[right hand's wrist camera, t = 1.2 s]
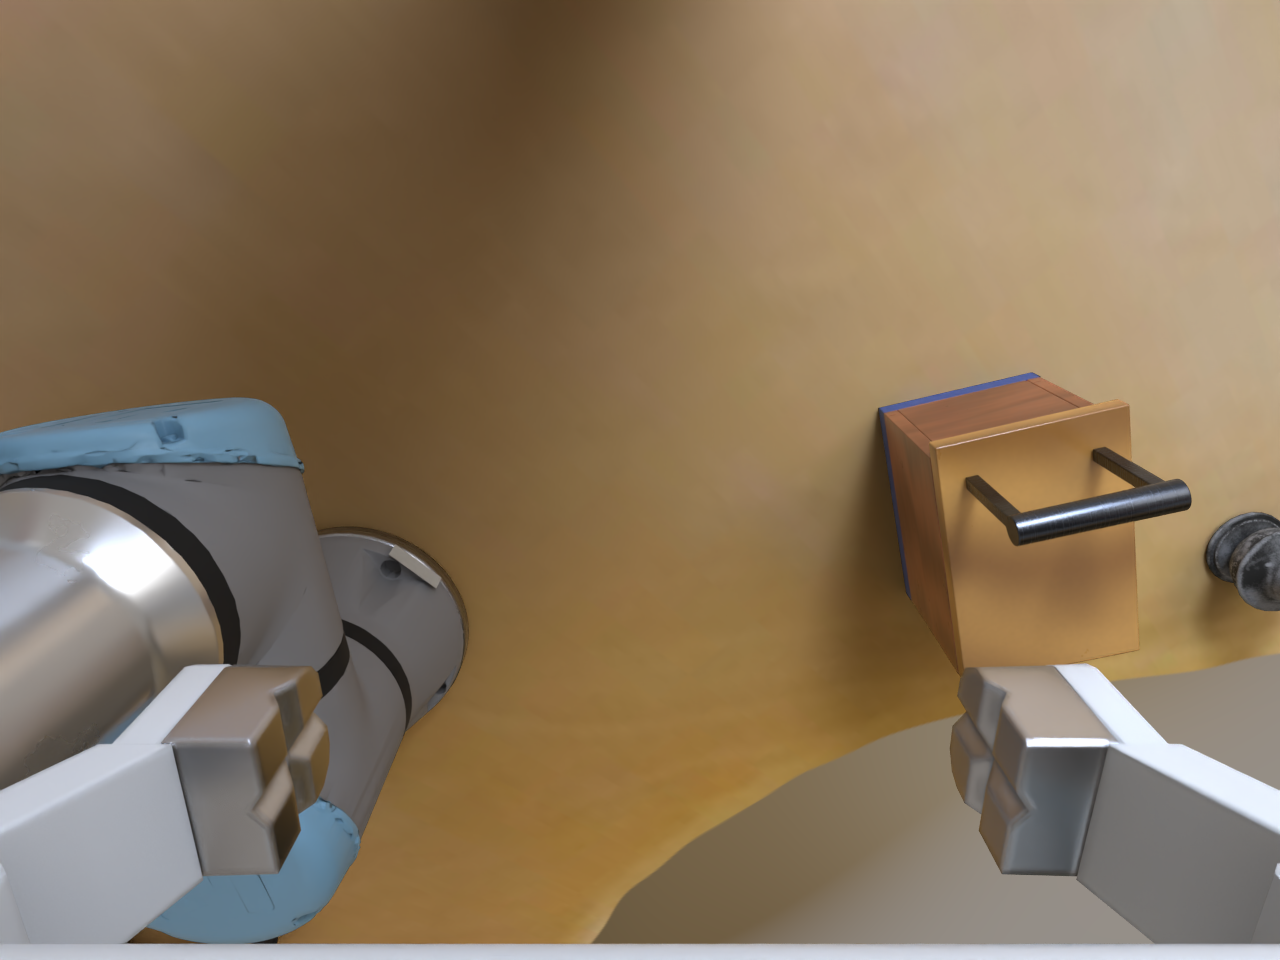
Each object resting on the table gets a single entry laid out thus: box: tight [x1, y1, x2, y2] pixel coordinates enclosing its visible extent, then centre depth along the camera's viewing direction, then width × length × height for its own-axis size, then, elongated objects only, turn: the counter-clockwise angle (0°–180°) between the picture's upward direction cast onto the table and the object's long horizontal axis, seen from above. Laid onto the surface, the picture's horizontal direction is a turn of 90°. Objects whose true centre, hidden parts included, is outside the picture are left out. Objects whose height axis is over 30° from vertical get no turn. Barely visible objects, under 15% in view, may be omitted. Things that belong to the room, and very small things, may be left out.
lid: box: [929, 399, 1191, 677], centre depth 42 cm, size 15×10×8 cm, turn 14°
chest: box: [879, 373, 1094, 674], centre depth 50 cm, size 14×10×10 cm
